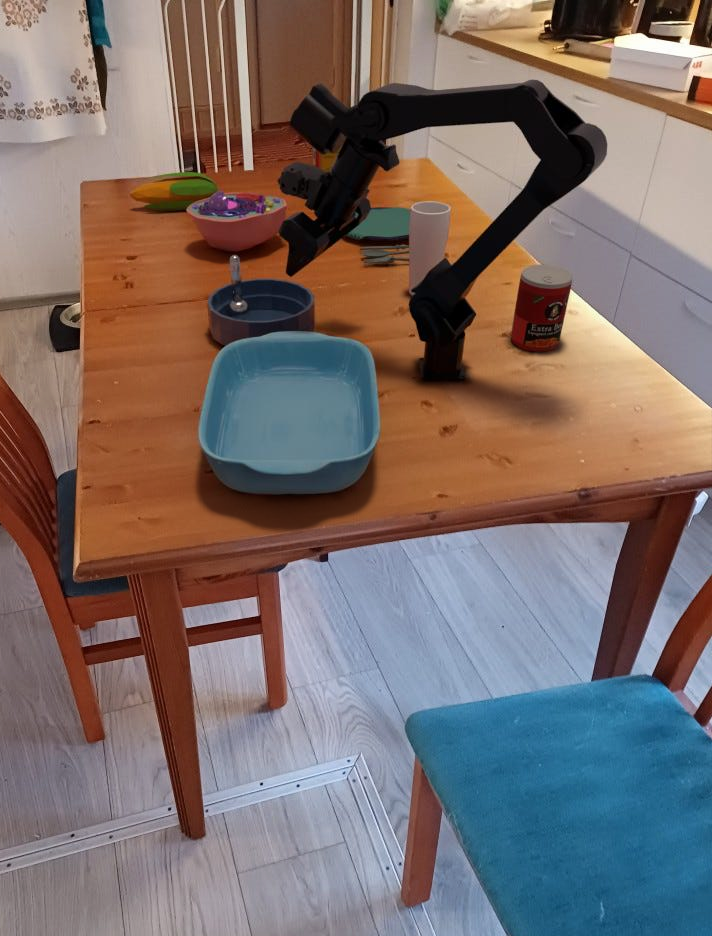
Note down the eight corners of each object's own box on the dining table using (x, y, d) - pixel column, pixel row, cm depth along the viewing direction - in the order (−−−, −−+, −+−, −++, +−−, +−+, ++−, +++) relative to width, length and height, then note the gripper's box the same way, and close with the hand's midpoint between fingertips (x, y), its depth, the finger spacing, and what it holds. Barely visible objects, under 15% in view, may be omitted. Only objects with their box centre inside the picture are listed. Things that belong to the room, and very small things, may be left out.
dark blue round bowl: (313, 355, 122) (313, 322, 118) (204, 355, 122) (201, 322, 119) (315, 309, 135) (314, 278, 132) (216, 309, 135) (213, 278, 132)
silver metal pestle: (254, 318, 130) (250, 252, 123) (245, 327, 127) (240, 260, 120) (233, 315, 131) (228, 249, 124) (224, 324, 128) (218, 258, 121)
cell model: (301, 253, 155) (300, 194, 148) (204, 269, 150) (198, 208, 143) (272, 227, 167) (270, 171, 160) (182, 240, 162) (175, 183, 155)
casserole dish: (222, 370, 118) (218, 326, 114) (368, 369, 118) (370, 325, 113) (192, 522, 90) (185, 471, 86) (384, 521, 90) (387, 471, 85)
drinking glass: (440, 302, 137) (450, 214, 127) (402, 300, 138) (408, 212, 128) (443, 287, 142) (452, 202, 132) (406, 285, 143) (412, 200, 133)
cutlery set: (421, 214, 173) (422, 203, 171) (447, 265, 150) (449, 253, 148) (332, 217, 172) (332, 206, 171) (345, 268, 149) (345, 256, 148)
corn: (217, 174, 171) (125, 179, 169) (220, 210, 176) (131, 215, 174) (215, 167, 177) (127, 172, 175) (218, 203, 182) (132, 207, 180)
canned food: (524, 355, 121) (536, 287, 114) (501, 333, 127) (511, 267, 120) (568, 349, 123) (583, 281, 115) (543, 327, 128) (556, 261, 121)
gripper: (334, 123, 113) (291, 211, 125) (271, 157, 101) (229, 251, 113) (394, 171, 113) (345, 255, 125) (337, 211, 101) (289, 300, 113)
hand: (303, 263), depth 119 cm, fingers open, 9 cm apart
